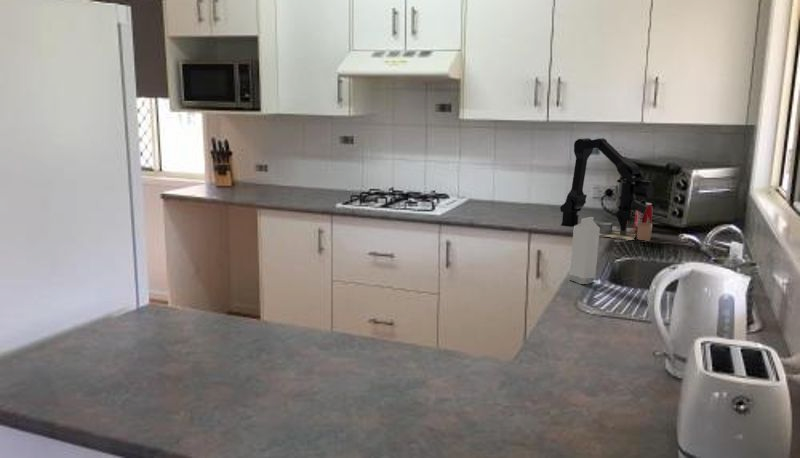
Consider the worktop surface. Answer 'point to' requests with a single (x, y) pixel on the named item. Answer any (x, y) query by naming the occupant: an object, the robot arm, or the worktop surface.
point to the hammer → (627, 230)
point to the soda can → (644, 216)
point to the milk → (585, 249)
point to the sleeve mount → (606, 232)
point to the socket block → (644, 231)
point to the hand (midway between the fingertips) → (623, 230)
